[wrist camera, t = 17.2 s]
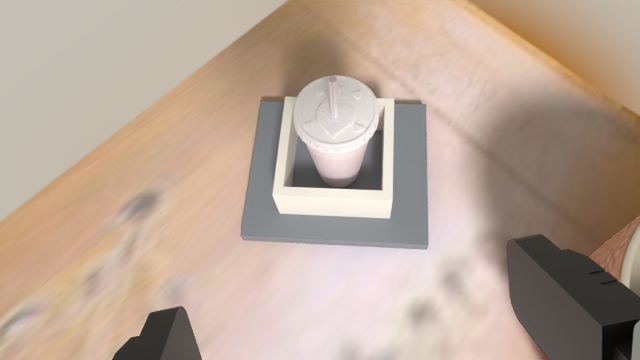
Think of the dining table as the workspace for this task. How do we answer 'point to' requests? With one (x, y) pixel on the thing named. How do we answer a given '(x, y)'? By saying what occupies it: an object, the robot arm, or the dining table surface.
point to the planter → (622, 256)
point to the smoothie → (336, 125)
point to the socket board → (340, 202)
